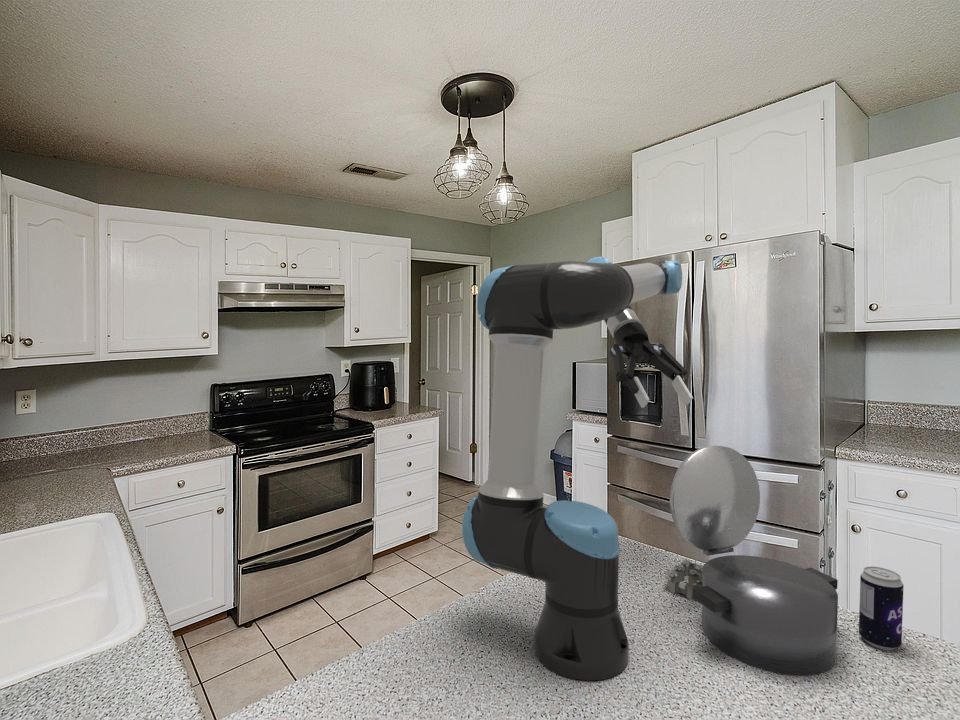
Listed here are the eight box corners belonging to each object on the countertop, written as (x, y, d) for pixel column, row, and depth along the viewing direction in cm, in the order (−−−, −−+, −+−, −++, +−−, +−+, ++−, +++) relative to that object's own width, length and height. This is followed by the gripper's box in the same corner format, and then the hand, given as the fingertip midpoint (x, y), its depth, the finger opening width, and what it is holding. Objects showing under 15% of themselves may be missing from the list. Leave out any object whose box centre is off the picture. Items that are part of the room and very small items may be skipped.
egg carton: (696, 604, 100) (697, 583, 100) (660, 590, 105) (661, 570, 105) (720, 586, 107) (720, 566, 107) (685, 573, 113) (685, 555, 112)
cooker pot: (751, 691, 75) (752, 623, 74) (663, 619, 94) (664, 565, 93) (880, 657, 83) (882, 596, 82) (775, 597, 102) (776, 547, 101)
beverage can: (890, 656, 83) (893, 583, 82) (851, 638, 88) (853, 569, 87) (908, 647, 85) (910, 576, 85) (869, 629, 90) (871, 562, 90)
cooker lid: (671, 449, 96) (663, 448, 98) (676, 560, 95) (668, 556, 97) (757, 442, 102) (747, 441, 104) (762, 547, 101) (752, 543, 103)
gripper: (660, 342, 133) (702, 410, 118) (580, 342, 126) (614, 415, 112) (674, 320, 127) (719, 390, 113) (591, 320, 121) (628, 393, 106)
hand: (667, 402), depth 112 cm, fingers open, 10 cm apart
